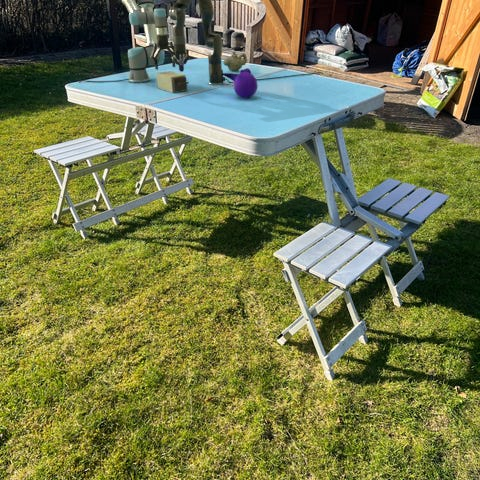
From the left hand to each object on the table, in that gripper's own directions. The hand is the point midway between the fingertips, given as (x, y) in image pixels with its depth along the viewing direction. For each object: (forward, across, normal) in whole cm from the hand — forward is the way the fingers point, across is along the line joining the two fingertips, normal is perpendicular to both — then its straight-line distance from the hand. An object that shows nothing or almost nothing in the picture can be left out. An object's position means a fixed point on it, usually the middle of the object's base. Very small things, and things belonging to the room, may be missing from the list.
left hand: (165, 68), depth 310 cm
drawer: (+12, 0, -12) cm, 17 cm away
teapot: (+13, +74, +18) cm, 77 cm away
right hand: (0, 0, -21) cm, 21 cm away
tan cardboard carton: (+13, 0, -6) cm, 15 cm away
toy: (+14, +23, -56) cm, 62 cm away
